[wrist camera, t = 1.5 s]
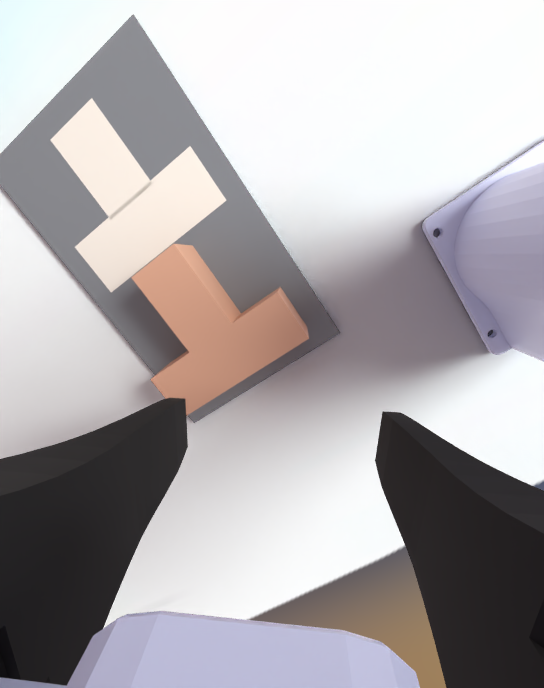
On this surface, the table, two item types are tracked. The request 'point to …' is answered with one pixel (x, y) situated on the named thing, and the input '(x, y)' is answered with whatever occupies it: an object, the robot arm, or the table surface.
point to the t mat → (147, 200)
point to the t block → (213, 327)
